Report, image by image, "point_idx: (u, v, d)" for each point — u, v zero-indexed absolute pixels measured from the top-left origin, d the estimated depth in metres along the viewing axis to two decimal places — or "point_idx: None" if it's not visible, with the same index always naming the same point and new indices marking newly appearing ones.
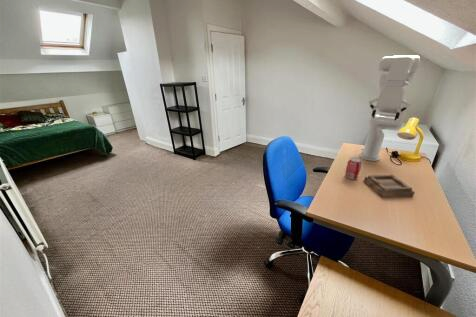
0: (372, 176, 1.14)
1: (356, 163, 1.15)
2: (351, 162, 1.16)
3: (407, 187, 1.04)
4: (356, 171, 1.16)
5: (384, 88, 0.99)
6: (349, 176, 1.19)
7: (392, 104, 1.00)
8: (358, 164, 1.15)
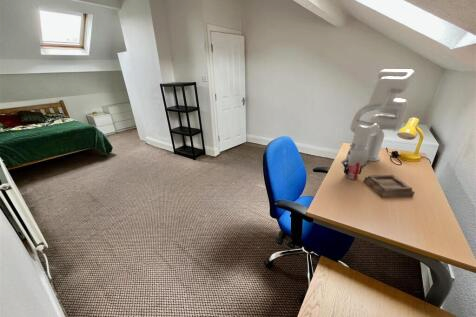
0: (372, 176, 1.14)
1: (356, 163, 1.15)
2: None
3: (407, 187, 1.04)
4: (356, 171, 1.16)
5: None
6: (349, 176, 1.19)
7: None
8: (358, 164, 1.15)
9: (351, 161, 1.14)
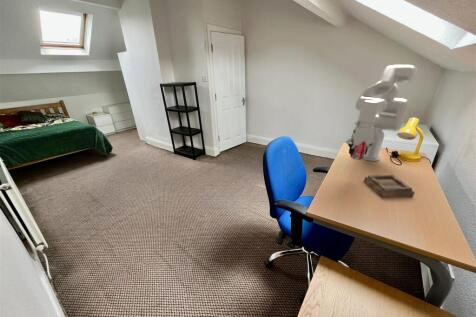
0: (372, 176, 1.14)
1: (362, 142, 1.09)
2: None
3: (407, 187, 1.04)
4: (362, 151, 1.11)
5: None
6: (354, 156, 1.14)
7: None
8: (364, 143, 1.09)
9: (356, 140, 1.09)
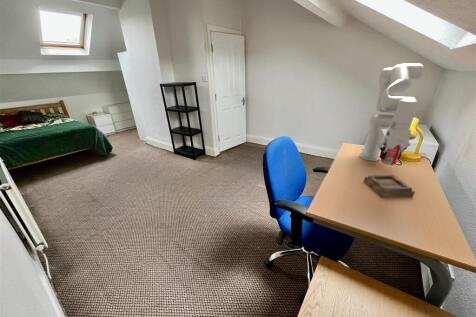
0: (372, 176, 1.14)
1: None
2: None
3: (407, 187, 1.04)
4: (395, 155, 1.01)
5: None
6: (386, 161, 1.04)
7: None
8: (398, 147, 0.99)
9: (390, 143, 0.99)
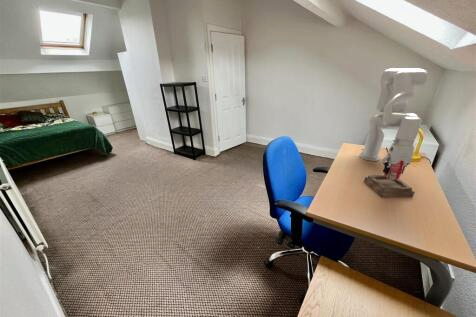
0: (372, 176, 1.14)
1: (400, 161, 1.00)
2: None
3: (407, 187, 1.04)
4: (399, 170, 1.02)
5: None
6: (390, 176, 1.05)
7: None
8: (402, 162, 1.00)
9: (394, 159, 1.00)
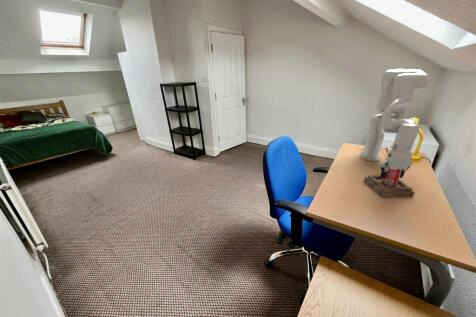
0: (372, 176, 1.14)
1: None
2: None
3: (407, 187, 1.04)
4: (396, 177, 1.04)
5: None
6: (387, 182, 1.07)
7: None
8: (399, 169, 1.02)
9: (392, 164, 1.01)
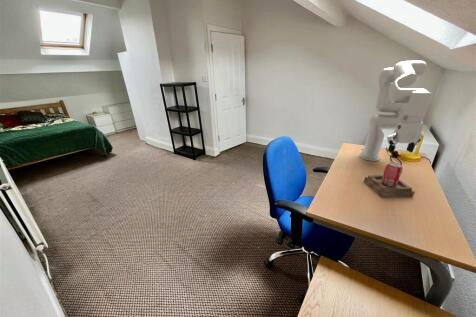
0: (372, 176, 1.14)
1: (397, 168, 1.02)
2: (391, 167, 1.04)
3: (407, 187, 1.04)
4: (396, 177, 1.04)
5: None
6: (387, 183, 1.07)
7: None
8: (399, 169, 1.02)
9: (402, 137, 0.95)
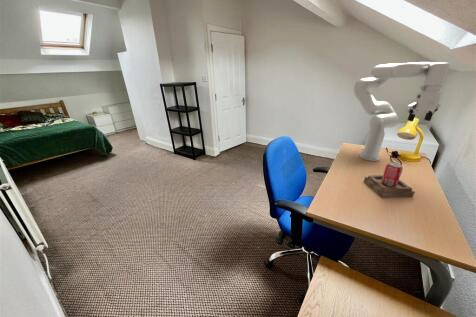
0: (372, 176, 1.14)
1: (397, 168, 1.02)
2: (391, 167, 1.04)
3: (407, 187, 1.04)
4: (396, 177, 1.04)
5: None
6: (387, 183, 1.07)
7: None
8: (399, 169, 1.02)
9: (421, 105, 1.06)
